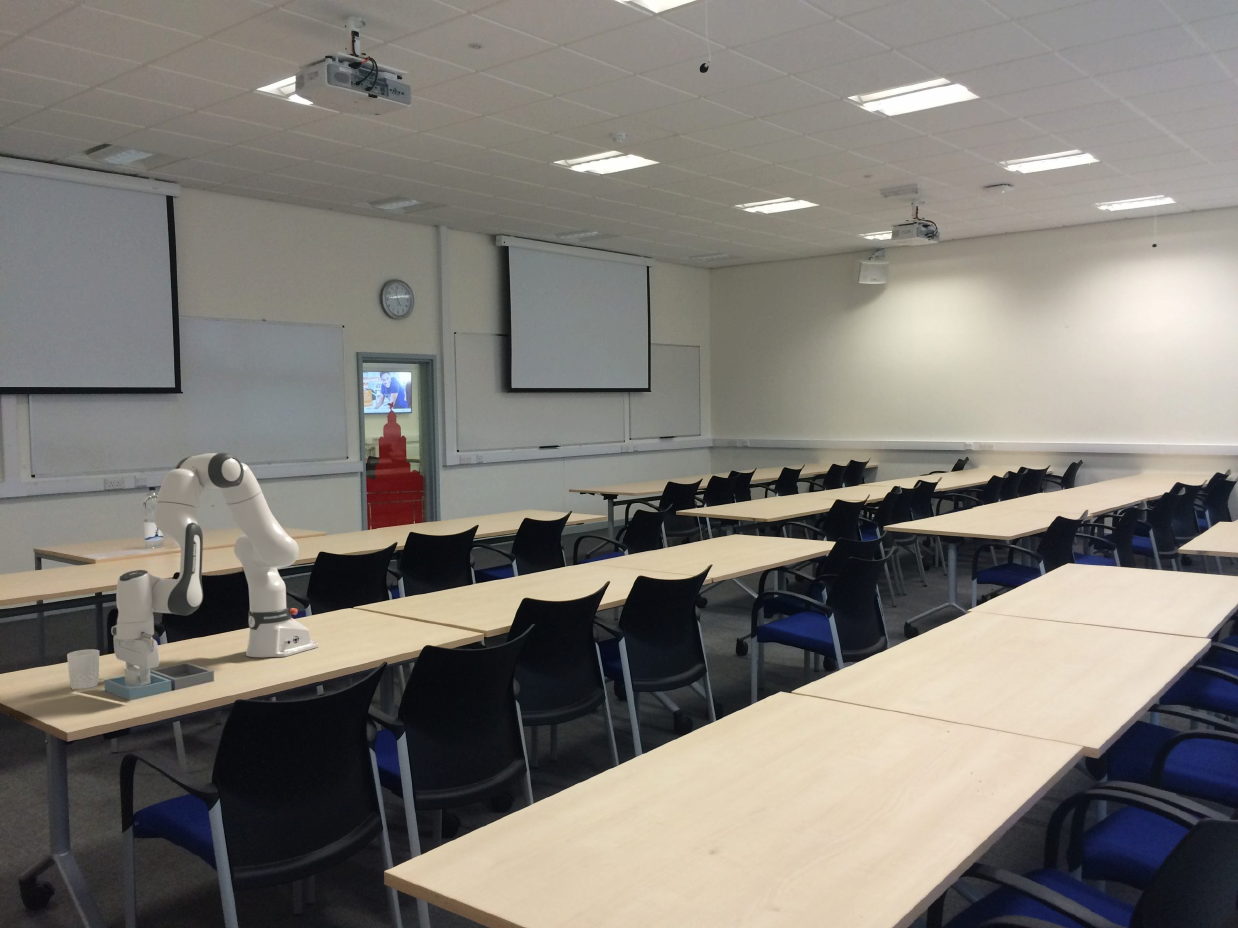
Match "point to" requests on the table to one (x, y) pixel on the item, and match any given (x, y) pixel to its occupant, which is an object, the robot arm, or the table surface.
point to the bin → (132, 693)
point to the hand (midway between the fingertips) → (137, 679)
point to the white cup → (83, 668)
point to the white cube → (135, 677)
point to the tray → (185, 675)
